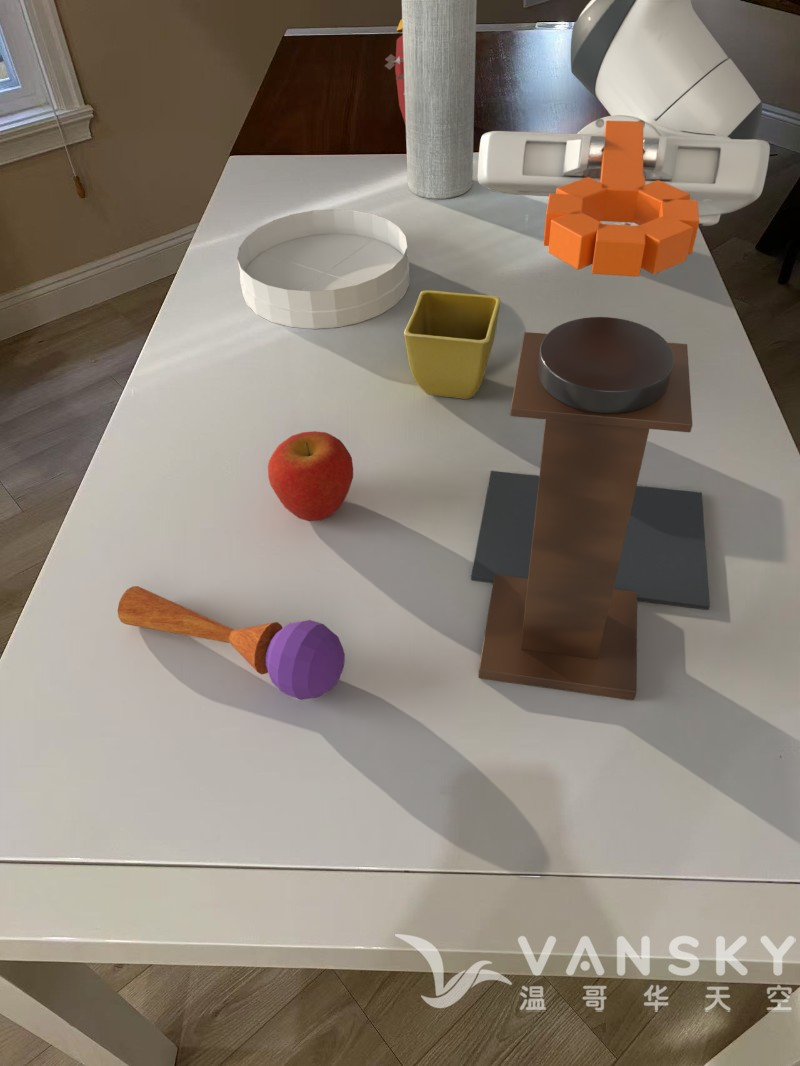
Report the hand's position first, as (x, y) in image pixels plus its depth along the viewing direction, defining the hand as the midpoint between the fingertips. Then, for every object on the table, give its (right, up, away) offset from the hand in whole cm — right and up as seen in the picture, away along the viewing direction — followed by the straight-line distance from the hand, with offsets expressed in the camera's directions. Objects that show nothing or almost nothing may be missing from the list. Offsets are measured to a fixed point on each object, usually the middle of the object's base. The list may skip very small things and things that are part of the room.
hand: (623, 151), depth 54 cm
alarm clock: (-12, +46, +91) cm, 103 cm away
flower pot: (-9, -9, +39) cm, 40 cm away
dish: (-24, +8, +55) cm, 61 cm away
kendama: (-28, -35, +14) cm, 47 cm away
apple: (-23, -22, +26) cm, 41 cm away
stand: (-2, -33, +14) cm, 36 cm away
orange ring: (-1, -4, -2) cm, 5 cm away
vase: (-8, +29, +75) cm, 80 cm away
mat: (+3, -25, +22) cm, 33 cm away
